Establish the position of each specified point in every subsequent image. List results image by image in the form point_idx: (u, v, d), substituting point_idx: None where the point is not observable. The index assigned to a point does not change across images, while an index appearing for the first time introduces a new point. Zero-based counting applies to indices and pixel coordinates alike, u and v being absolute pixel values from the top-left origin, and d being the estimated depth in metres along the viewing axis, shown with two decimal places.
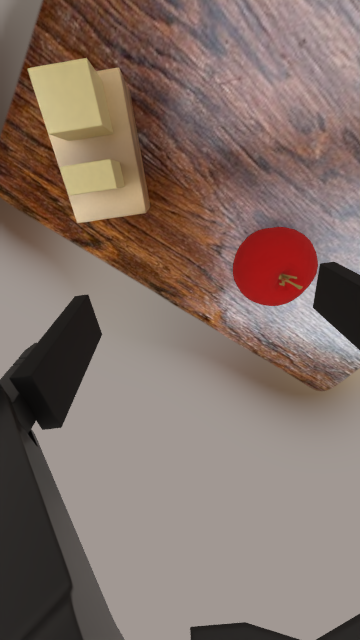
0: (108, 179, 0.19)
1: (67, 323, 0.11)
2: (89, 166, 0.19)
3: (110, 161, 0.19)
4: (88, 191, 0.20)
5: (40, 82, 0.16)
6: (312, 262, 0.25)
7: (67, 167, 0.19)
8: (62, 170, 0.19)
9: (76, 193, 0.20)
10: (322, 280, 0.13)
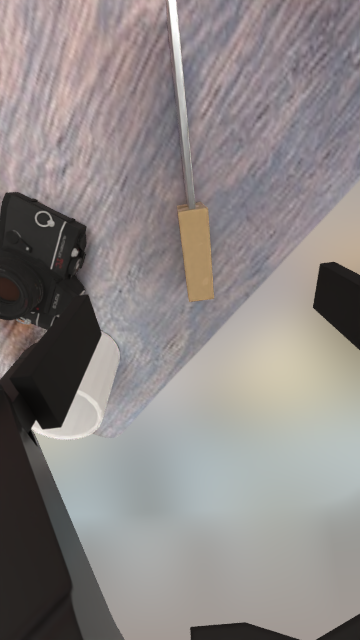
0: None
1: (67, 323, 0.11)
2: None
3: None
4: None
5: None
6: None
7: None
8: None
9: None
10: (321, 280, 0.13)
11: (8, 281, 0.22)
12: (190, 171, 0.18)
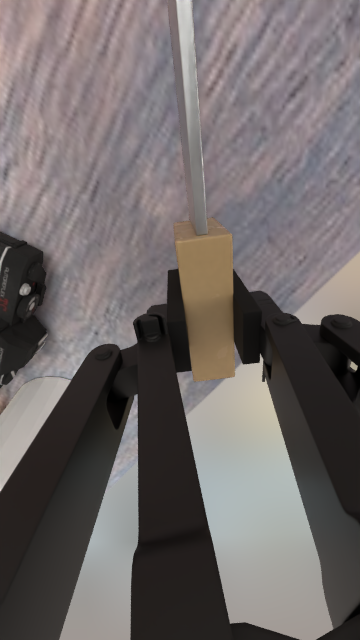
0: None
1: None
2: None
3: None
4: None
5: None
6: None
7: None
8: None
9: None
10: None
11: None
12: (200, 163, 0.09)
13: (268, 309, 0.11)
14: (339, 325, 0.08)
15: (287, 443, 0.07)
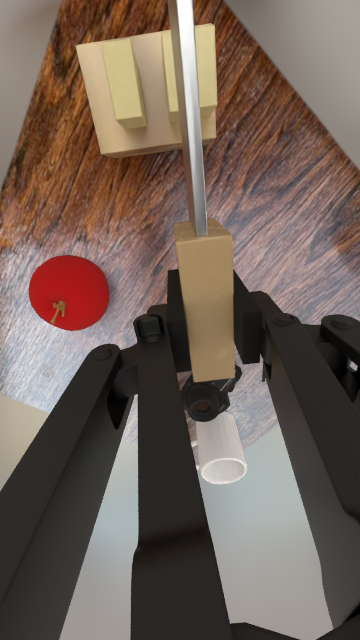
0: (123, 110, 0.18)
1: None
2: (133, 85, 0.17)
3: (140, 116, 0.18)
4: (108, 77, 0.17)
5: (203, 39, 0.16)
6: (80, 325, 0.29)
7: (130, 51, 0.16)
8: (126, 42, 0.16)
9: (104, 57, 0.16)
10: None
11: (205, 402, 0.40)
12: (200, 164, 0.09)
13: (268, 309, 0.11)
14: (339, 325, 0.08)
15: (287, 443, 0.07)
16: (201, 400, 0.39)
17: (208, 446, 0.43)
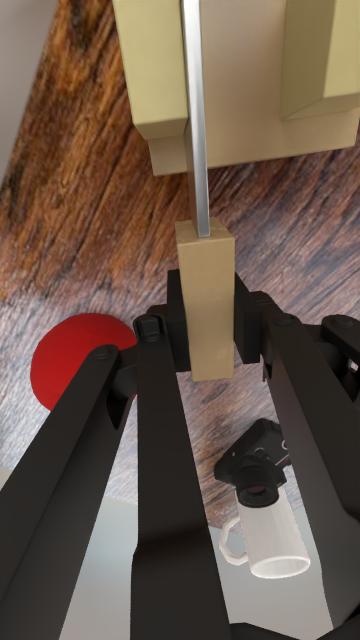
0: (149, 105, 0.08)
1: (180, 288, 0.13)
2: (174, 49, 0.08)
3: (184, 117, 0.09)
4: (120, 31, 0.08)
5: None
6: None
7: None
8: None
9: None
10: None
11: None
12: (203, 165, 0.09)
13: (269, 309, 0.11)
14: (340, 325, 0.08)
15: (287, 443, 0.07)
16: None
17: (258, 533, 0.34)
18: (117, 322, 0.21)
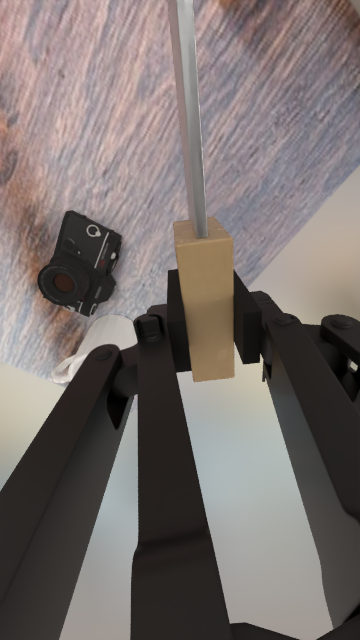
0: None
1: None
2: None
3: None
4: None
5: None
6: None
7: None
8: None
9: None
10: None
11: (65, 277, 0.29)
12: (200, 166, 0.09)
13: (268, 309, 0.11)
14: (340, 325, 0.08)
15: (287, 443, 0.07)
16: (52, 266, 0.28)
17: (81, 346, 0.32)
18: None
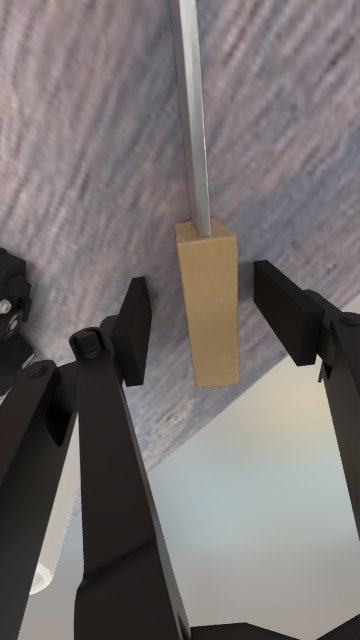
0: None
1: (138, 298, 0.12)
2: None
3: None
4: None
5: None
6: None
7: None
8: None
9: None
10: (256, 276, 0.15)
11: None
12: (203, 161, 0.09)
13: (325, 309, 0.10)
14: None
15: (340, 444, 0.07)
16: None
17: None
18: None
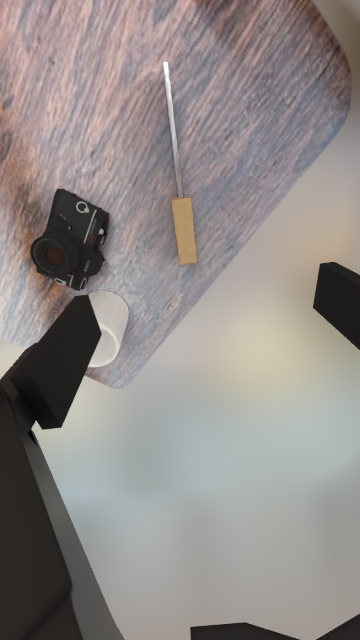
0: None
1: (67, 323, 0.11)
2: None
3: None
4: None
5: None
6: None
7: None
8: None
9: None
10: (321, 280, 0.13)
11: (56, 249, 0.32)
12: (179, 173, 0.28)
13: None
14: None
15: None
16: (44, 238, 0.30)
17: None
18: None
